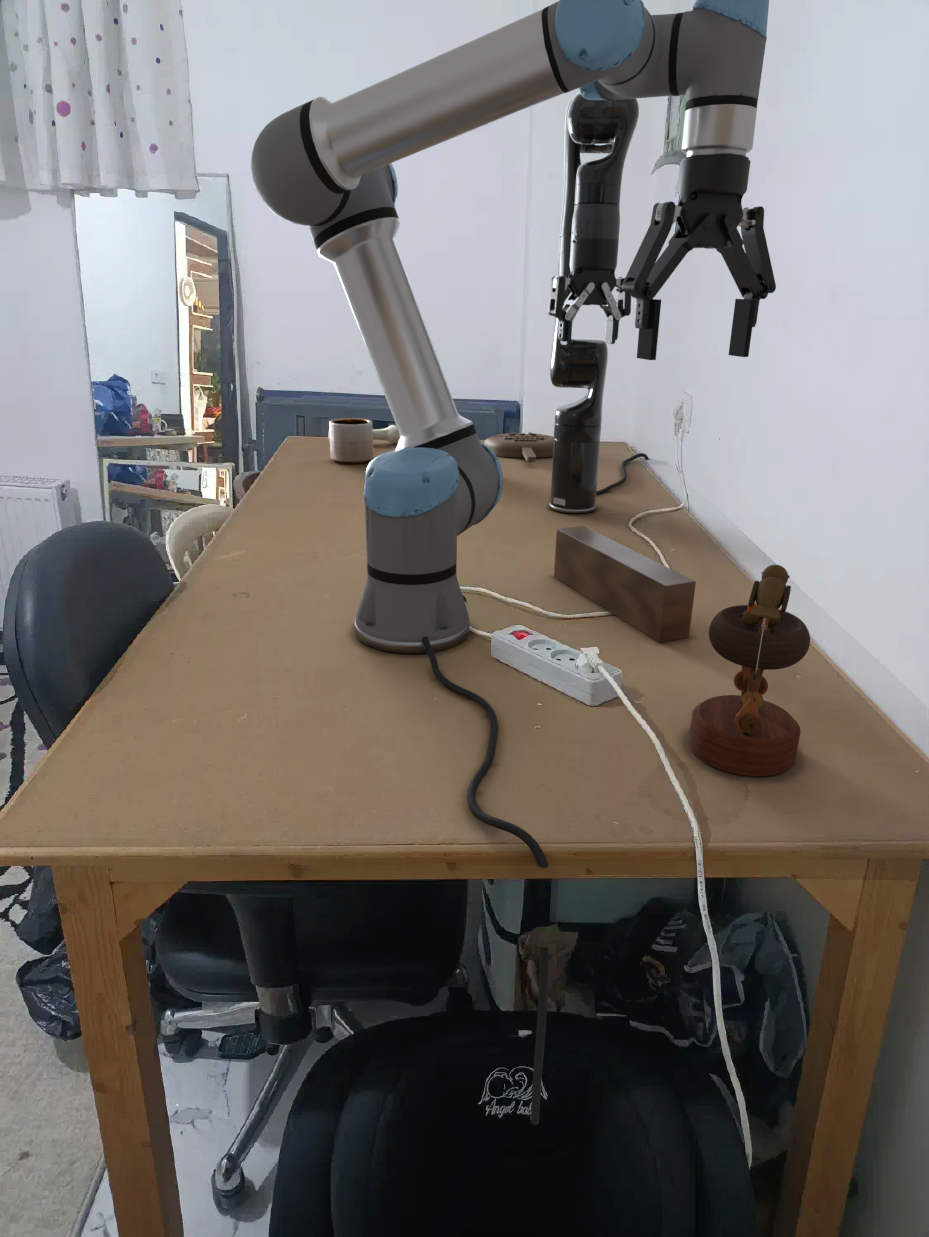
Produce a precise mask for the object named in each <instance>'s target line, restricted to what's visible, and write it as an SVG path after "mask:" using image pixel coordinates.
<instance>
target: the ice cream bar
mask: <svg viewBox="0 0 929 1237" xmlns="http://www.w3.org/2000/svg"><path fill="white" fill-rule="evenodd" d="M483 444H484V445H485V446H487V447H489V448H490V449H491V450H492V451H493V452H494V454H495V455H496V456H497V457H503V458H504V457H505V458H523V459H525V461H526V462H532V463H533V462H536V461H537V459H538V458H550V457H553V445H554V436H552V435H547V434H542V433H534V432H528V433H525V432H523V433H522V432H519V433H517V432H514V431H513V432H506V433H500V434H496V435H495V434H494V435H492V436H489V437H487V438H485V440H484V442H483Z"/></svg>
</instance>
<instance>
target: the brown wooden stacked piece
mask: <svg viewBox="0 0 929 1237" xmlns="http://www.w3.org/2000/svg"><path fill="white" fill-rule="evenodd" d="M760 573H761V580H754V582H753V584H752V585H753V586H752V589H751V592H750V596H749V599H748V603H747V604H740V605H733V606H728V607H726V608H724V609H721V610H720V611H718V613H716V614H715V615H714V617H713V618H712V619H711V621H710V624H709V628H708V639H709V642H710V645H711V647H712V648H713V650H714V651H715V652H716V653H717V654H718V655H719V656H720V657H722V658H723V659H725V660H726V661H728V662H731V663H733V664H736V665H738V666H741V670H739V671H738V672H736V673H735V675H734V677H733V685H734V687H735V688H736V689H737V690H738V691H740V692H741V693H740V695H739V694H738V695H737V694H723V695H717V696H713V697H710V698H708V699H705V700H704V701H702V702H700V703H698V704H697V705H696V706H694V708H693V710H692V711H691V712H692V713H691V719H690V727H689V734H688V746H689V748H690V750H691V751H692V753H693V754H694V755H695V756H696V757H698V758H699V759H700V760H701V761H703V762H704V763H706V764H708V765H710V766H712V767H714V768H716V769H719V770H722V771H724V772H727V773H731V774H735V775H741V776H749V777H769V776H775V775H779V774H782V773H784V772H786V771H788V770H790V769H791V768H792V767H793V766H794V764H795V763H796V759H797V753H798V748H799V742H800V738H801V734H802V733H801V732H802V731H801V727H800V725H799V723H798V721H797V720H796V719H795V718H794V717H793V716H792V715H791V714H790V712H788V711H787V710H785V709H784V708H782V707H781V706H779V705H777V704H775V703H773V702H770V701H768V700H765V699H764V695H765V694H766V693H767V691H768V689H769V684H768V680H767V679H766V677H764V676H763V673H764V671H765V670H769V671H770V670H772V671H773V670H781V669H787V668H790V667H791V666H795V665H796V664H797V663H799V662H800V661H801V660H803V658H804V657H805V656H807V653H808V652H809V649H810V646H811V635H810V631H809V629H808V627H807V625H806V624H805V622H804V621H803V620H802V619H800V618H799V617H798V616H796V615H795V614H793V613H791V612H788V611H787V609H788V604H789V601H790V596H791V591H792V590H791V589H792V586H791V585H786V584H787V583H788V580H789V579H790V575H789V573H788V570H787V569H786V568H785V567H783V566H782V565H780V564H771V565H768V566H767V567H766V568H764V570H763V571H761V572H760Z"/></svg>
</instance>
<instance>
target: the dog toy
mask: <svg viewBox="0 0 929 1237" xmlns="http://www.w3.org/2000/svg"><path fill="white" fill-rule="evenodd" d="M327 439H328V442H329V443H330V427H329V429H328V435H327ZM374 440H376V441H378V440H379V441H386V442H389V443H391V444H398V442H399V440H400V433H399V431H398V428H397V426H396V424H391V425H389V426H388V427H385V428H378V429H377V428H375V429H374V428H373V441H374Z"/></svg>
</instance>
